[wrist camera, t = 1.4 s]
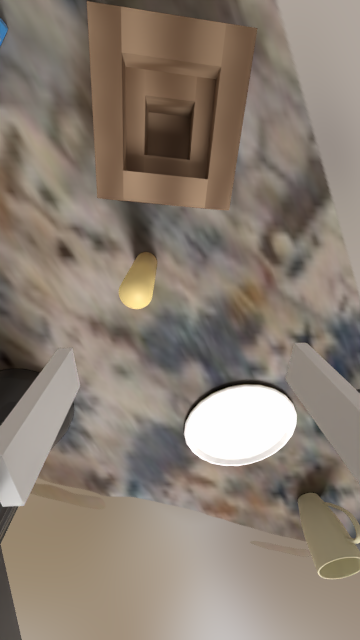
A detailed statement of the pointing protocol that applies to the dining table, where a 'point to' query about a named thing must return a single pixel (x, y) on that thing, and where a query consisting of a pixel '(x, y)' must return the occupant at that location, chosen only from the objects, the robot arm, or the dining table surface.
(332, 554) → the mug
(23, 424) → the robot arm
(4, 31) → the ink box
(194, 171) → the bore block
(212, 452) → the plate
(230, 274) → the dining table surface
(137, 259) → the pin
